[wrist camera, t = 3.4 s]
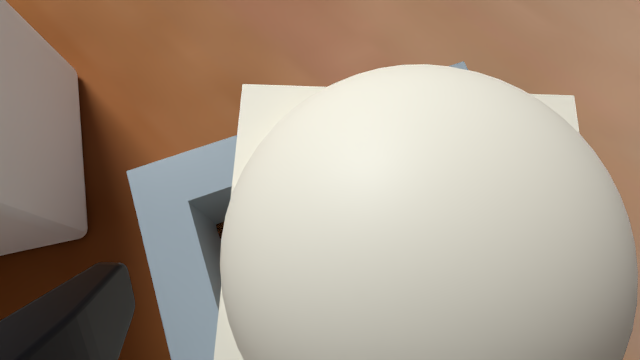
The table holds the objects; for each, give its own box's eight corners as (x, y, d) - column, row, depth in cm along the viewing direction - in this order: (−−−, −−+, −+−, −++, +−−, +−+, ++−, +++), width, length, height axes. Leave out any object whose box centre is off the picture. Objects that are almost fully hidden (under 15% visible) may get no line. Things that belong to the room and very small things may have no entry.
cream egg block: (430, 373, 15) (889, 620, 3) (280, 366, 15) (102, 574, 3) (426, 225, 16) (714, -28, 4) (289, 219, 16) (197, -44, 4)
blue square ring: (252, 530, 13) (228, 602, 10) (166, 200, 17) (126, 171, 13) (574, 397, 14) (649, 422, 11) (436, 109, 18) (463, 61, 14)
